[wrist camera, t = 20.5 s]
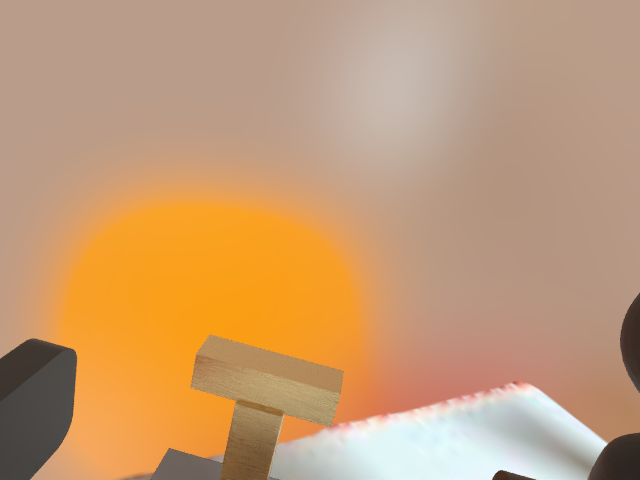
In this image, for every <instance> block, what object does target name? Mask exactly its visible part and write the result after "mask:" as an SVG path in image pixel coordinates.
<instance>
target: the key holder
mask: <svg viewBox="0 0 640 480" xmlns="http://www.w3.org/2000/svg"><path fill="white" fill-rule="evenodd" d="M222 466H223V463H219V462H216V461H212V460H209V459H205V458H202V457H198V456H195V455H191V454H188V453H184V452H181V451H177V450H174V449H170V448H169V449H168V451H167V453H166V454H165V456H164V458H163V459H162V461H161V463H160V464H159V466H158V468H157V469H156V471H155V473H154V474H153V476H152V478H151V479H150V480H220V475H221V471H222ZM268 480H279V479H275V478H272V477H269V479H268Z"/></svg>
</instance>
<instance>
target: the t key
mask: <svg viewBox="0 0 640 480" xmlns="http://www.w3.org/2000/svg"><path fill="white" fill-rule="evenodd" d="M342 378H343V371H341V370H337V369H334V368H330V367H327V366H323V365H319V364H315V363H312V362H308V361H305V360H301V359H297V358H294V357H290V356H286V355H283V354H279V353H275V352H272V351H268V350H265V349H261V348H257V347H254V346H250V345H246V344H243V343H239V342H235V341H232V340H228V339H224V338H220V337H217V336H213V335H209V337H208V338H207V339H206V341H205V342H204V344H203V345H202V347H201V348H200V349H199V351H198V352H197V354H196V359H195V365H194V371H193V376H192V383H191V388H193V389H196V390H200V391H204V392H207V393H211V394H215V395H218V396H221V397H225V398H229V399H232V400H236V401H237V402H236V404H235V408H234V414H233V418H232V423H231V427H230V433H229V437H228V442H227V447H226V451H225V456H224V461H223V466H222V471H221V475H220V480H268V479H269V475H270V471H271V467H272V463H273V459H274V455H275V451H276V447H277V443H278V439H279V435H280V431H281V427H282V423H283V419H284V415H285V414H286V415H289V416H293V417H297V418H300V419H304V420H307V421H311V422H314V423H318V424H322V425H325V426H329V427H331V424H332V421H333V417H334V414H335V411H336V407H337V404H338V400H339V397H340V394H341V386H342Z"/></svg>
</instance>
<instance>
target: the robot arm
mask: <svg viewBox="0 0 640 480" xmlns="http://www.w3.org/2000/svg"><path fill="white" fill-rule="evenodd" d="M620 346H621V352H622V358H623V362H624V365H625V367H626V370H627V372H628V375H629V377H630V378H631V380H632V382H633V383H634V385H635V387H636V388H637V390H638V391H639V392H640V293H639V295H638V296H637V297H636V298H635V300H634V301H633V303H632V304H631V306H630V307H629V309H628V311H627V313H626V316H625V318H624V321H623V325H622V329H621V337H620ZM76 366H77V355H76V352H75V351H74V350H73V349H71V348H67V347H64V346H60V345H56V344H53V343H49V342H46V341H42V340H38V339H29V340H27V341H26V342H24V343H22V344H21V345H19V346H18V347H16V348H15V349H14V350H12V351H11V352H9V353H8V354H7V355H5V356H4V357H2V358H1V359H0V480H30V479H31V478H32V477H33V476H34V474H35V473H36V472H37V471H38V470H39V469H40V468H41V467H42V466H43V464H44V463H45V462H46V461H47V460H48V459H49V458H50V457H51V456H52V455H53V453H54V452H55V451H56V450H57V449H58V448H59V446H60V445H61V443H62V442H63V440H64V438H65V436H66V434H67V432H68V430H69V427H70V425H71V421H72V417H73V407H74V406H73V405H74V393H75V379H76ZM492 480H535V479H532V478H528V477H525V476H521V475H517V474H514V473H510V472H507V471H503V470H500V471H498V472H497V473H496V474H495V475H494V477H493V479H492ZM587 480H640V433H634V434H628V435H624V436H621V437H618V438H616V439H614V440H613V441H611V442H610V443H609V444H608V445H607V446H606V447H605V448H604V449H603V451H602V452H601V454H600V455H599V457H598V459H597V461H596V463H595V465H594V466H593V468H592V470H591V472H590V475H589V476H588V478H587Z"/></svg>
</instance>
